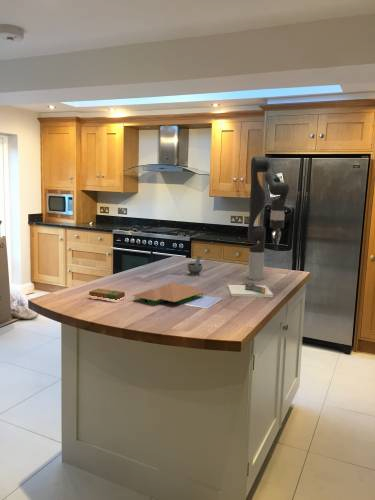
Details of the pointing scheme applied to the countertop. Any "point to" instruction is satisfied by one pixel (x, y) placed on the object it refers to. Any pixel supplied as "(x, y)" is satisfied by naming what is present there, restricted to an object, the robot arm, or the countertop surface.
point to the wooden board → (170, 293)
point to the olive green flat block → (107, 293)
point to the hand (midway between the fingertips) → (275, 250)
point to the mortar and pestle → (195, 267)
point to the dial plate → (248, 291)
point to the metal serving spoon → (254, 287)
